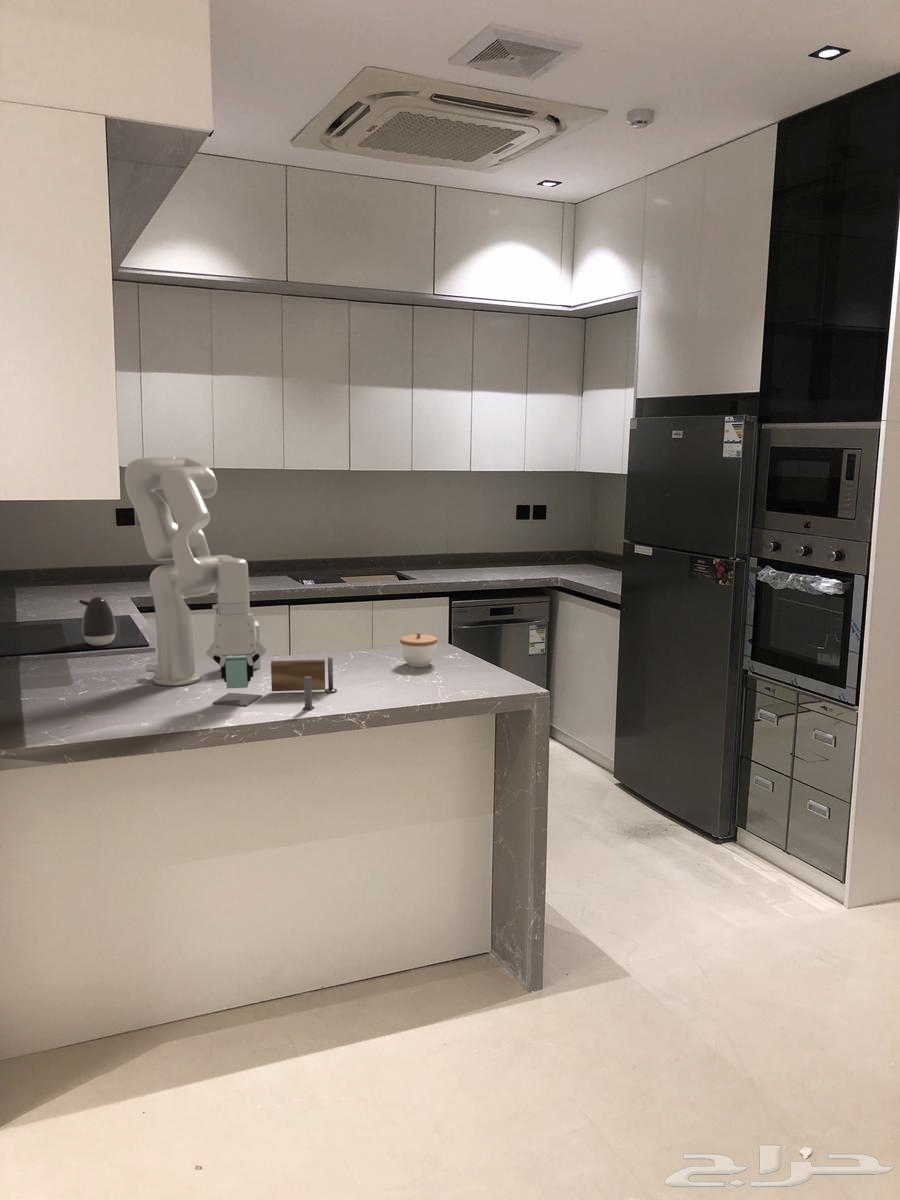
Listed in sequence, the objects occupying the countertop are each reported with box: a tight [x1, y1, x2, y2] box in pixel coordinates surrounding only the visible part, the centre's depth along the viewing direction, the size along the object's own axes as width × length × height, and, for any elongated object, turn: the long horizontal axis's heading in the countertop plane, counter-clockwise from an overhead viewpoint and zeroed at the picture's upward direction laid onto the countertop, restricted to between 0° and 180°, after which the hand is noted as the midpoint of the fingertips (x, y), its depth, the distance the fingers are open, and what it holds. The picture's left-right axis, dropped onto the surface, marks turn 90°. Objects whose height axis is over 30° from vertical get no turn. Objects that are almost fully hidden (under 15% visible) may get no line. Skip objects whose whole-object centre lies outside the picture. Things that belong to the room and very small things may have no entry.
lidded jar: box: [399, 632, 438, 668], centre depth 275 cm, size 11×11×9 cm
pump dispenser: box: [79, 596, 117, 647], centre depth 299 cm, size 10×10×15 cm
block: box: [225, 656, 250, 689], centre depth 237 cm, size 5×5×7 cm
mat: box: [212, 692, 263, 707], centre depth 239 cm, size 9×9×1 cm
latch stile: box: [302, 676, 315, 711], centre depth 231 cm, size 2×2×8 cm
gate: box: [270, 659, 326, 692], centre depth 245 cm, size 2×14×8 cm, turn 97°
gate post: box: [324, 656, 338, 694], centre depth 246 cm, size 3×3×9 cm
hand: (237, 679), depth 238 cm, fingers closed on block, 5 cm apart
